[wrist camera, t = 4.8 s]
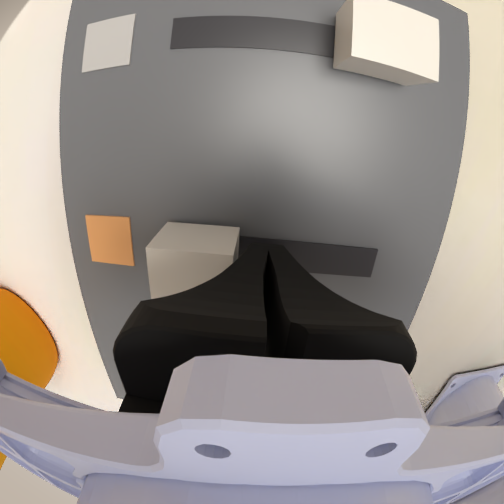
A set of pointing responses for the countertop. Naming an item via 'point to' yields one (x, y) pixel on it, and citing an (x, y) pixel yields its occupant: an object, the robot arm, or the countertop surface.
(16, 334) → the beer bottle
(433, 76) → the block
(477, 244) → the countertop surface
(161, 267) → the middle tab
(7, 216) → the countertop surface
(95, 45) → the switch board
